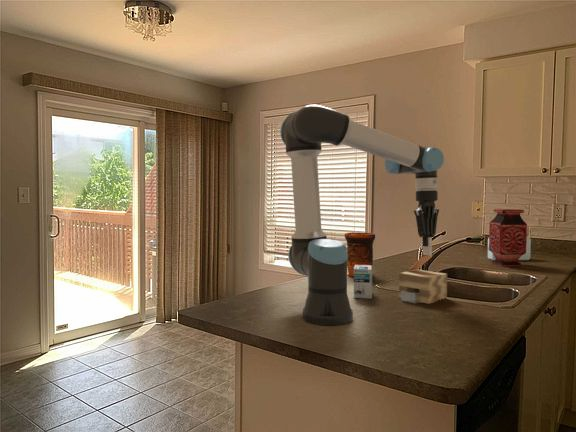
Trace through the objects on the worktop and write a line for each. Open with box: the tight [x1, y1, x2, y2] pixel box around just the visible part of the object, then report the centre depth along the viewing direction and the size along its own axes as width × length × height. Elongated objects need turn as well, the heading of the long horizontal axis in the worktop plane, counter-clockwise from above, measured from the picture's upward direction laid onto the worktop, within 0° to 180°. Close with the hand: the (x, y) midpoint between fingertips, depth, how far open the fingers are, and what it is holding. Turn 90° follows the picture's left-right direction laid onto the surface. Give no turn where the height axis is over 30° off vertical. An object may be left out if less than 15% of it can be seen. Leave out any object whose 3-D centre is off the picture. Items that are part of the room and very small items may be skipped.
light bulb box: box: [353, 264, 373, 300], centre depth 159 cm, size 11×7×11 cm, turn 168°
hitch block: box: [398, 269, 448, 305], centre depth 155 cm, size 12×12×9 cm
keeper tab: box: [406, 254, 433, 272], centre depth 158 cm, size 9×6×1 cm
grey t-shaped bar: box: [400, 290, 421, 304], centre depth 155 cm, size 17×6×3 cm, turn 130°
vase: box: [488, 208, 528, 267], centre depth 229 cm, size 14×14×30 cm
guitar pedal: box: [487, 236, 532, 261], centre depth 250 cm, size 23×6×13 cm, turn 95°
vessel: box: [344, 231, 376, 278], centre depth 201 cm, size 14×14×20 cm
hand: (427, 255), depth 156 cm, fingers closed
